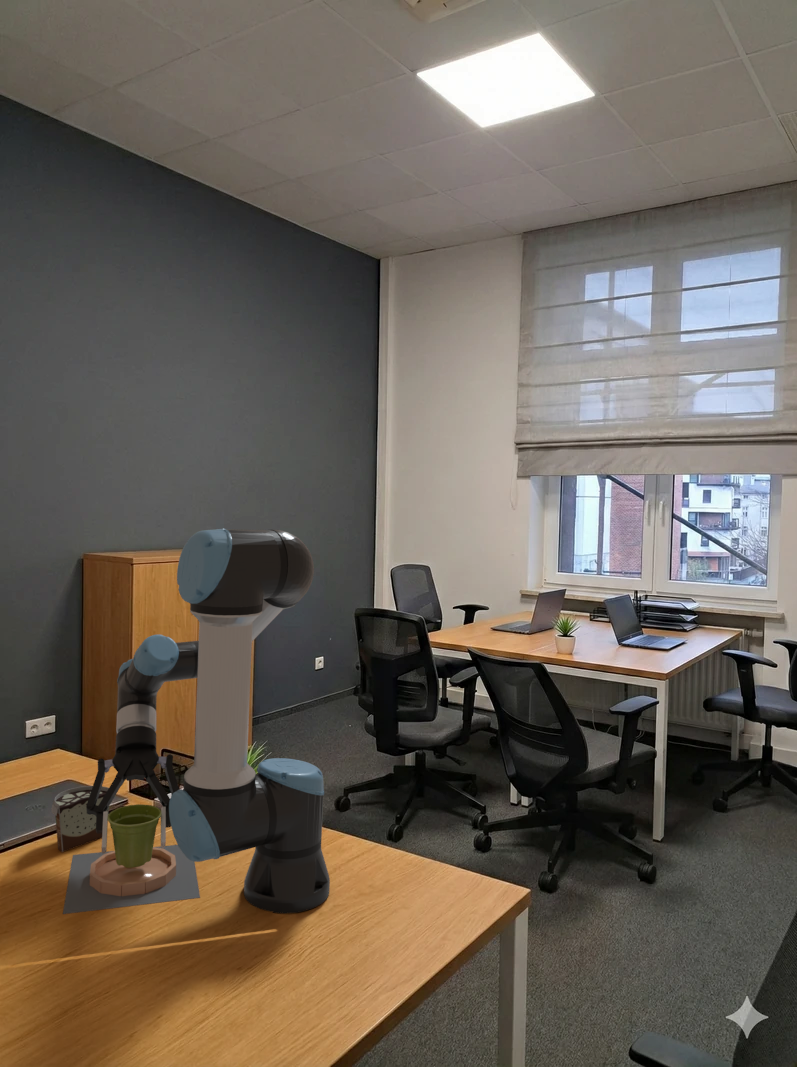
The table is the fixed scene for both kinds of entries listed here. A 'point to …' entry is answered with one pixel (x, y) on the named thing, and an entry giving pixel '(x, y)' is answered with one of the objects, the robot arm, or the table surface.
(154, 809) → the plant pot
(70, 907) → the desk mat
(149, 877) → the saucer
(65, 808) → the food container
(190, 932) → the table surface
